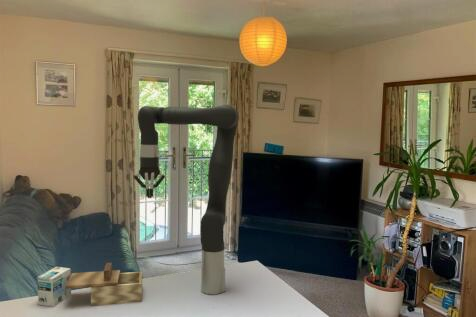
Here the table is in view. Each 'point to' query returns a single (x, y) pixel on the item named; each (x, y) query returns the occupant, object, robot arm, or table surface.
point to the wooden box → (119, 290)
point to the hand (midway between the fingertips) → (149, 197)
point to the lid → (94, 278)
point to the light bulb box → (53, 286)
